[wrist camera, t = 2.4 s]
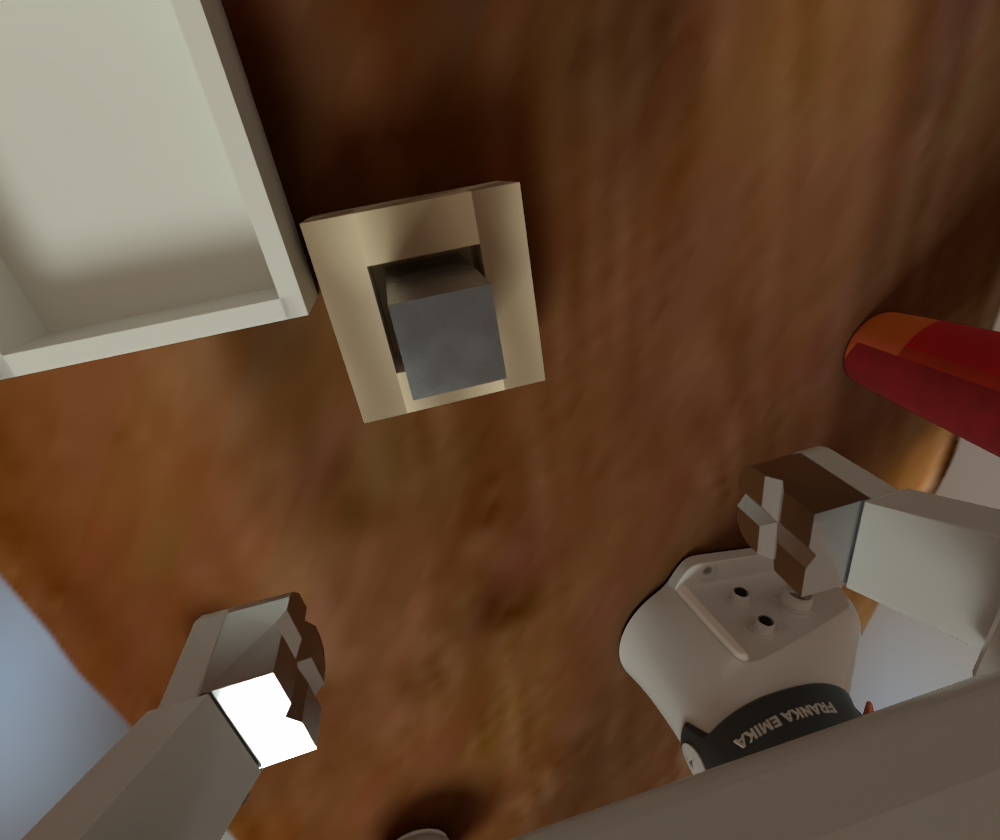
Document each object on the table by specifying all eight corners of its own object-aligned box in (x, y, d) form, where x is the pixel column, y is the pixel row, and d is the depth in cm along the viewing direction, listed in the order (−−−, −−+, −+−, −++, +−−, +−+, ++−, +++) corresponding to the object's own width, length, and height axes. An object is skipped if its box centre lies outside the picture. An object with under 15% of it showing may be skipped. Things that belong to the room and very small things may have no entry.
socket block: (497, 180, 28) (519, 182, 23) (522, 352, 32) (545, 380, 28) (312, 215, 26) (299, 223, 22) (366, 388, 31) (364, 423, 27)
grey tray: (169, -158, 20) (116, -241, 16) (318, 295, 28) (308, 314, 24) (-237, -118, 18) (-407, -200, 14) (49, 350, 26) (-8, 381, 23)
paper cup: (881, 403, 41) (1099, 502, 28) (811, 383, 38) (1016, 482, 26) (941, 310, 38) (1211, 375, 26) (869, 282, 36) (1130, 339, 23)
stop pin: (458, 251, 27) (490, 283, 19) (471, 322, 29) (506, 378, 21) (385, 266, 27) (387, 305, 19) (403, 338, 29) (413, 400, 21)
